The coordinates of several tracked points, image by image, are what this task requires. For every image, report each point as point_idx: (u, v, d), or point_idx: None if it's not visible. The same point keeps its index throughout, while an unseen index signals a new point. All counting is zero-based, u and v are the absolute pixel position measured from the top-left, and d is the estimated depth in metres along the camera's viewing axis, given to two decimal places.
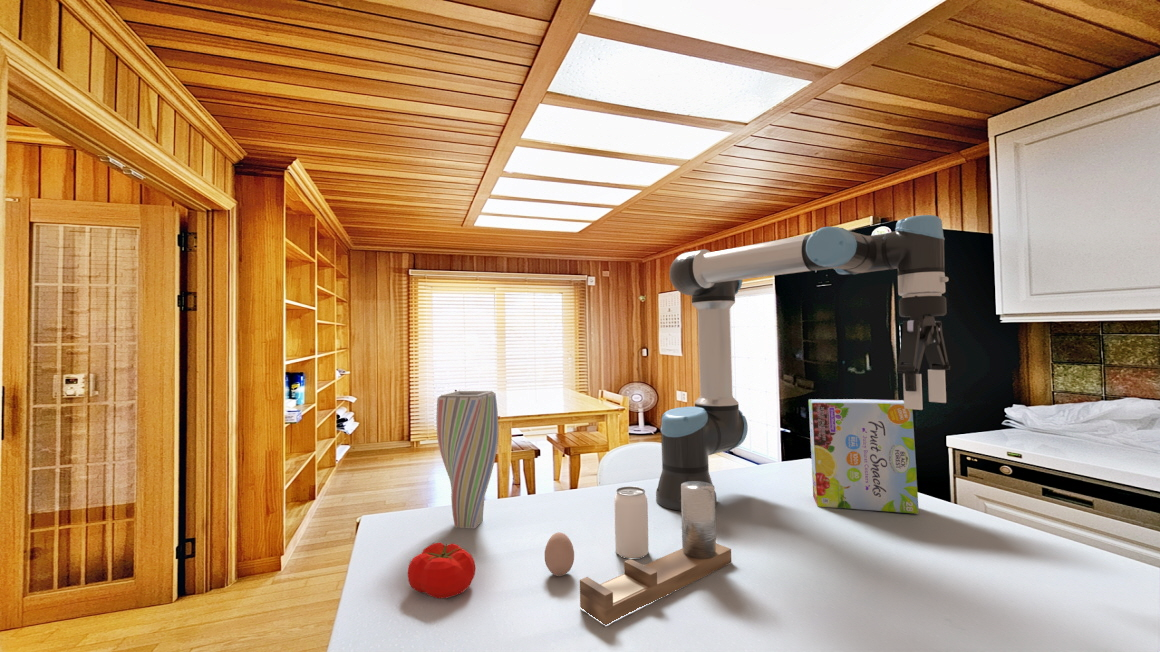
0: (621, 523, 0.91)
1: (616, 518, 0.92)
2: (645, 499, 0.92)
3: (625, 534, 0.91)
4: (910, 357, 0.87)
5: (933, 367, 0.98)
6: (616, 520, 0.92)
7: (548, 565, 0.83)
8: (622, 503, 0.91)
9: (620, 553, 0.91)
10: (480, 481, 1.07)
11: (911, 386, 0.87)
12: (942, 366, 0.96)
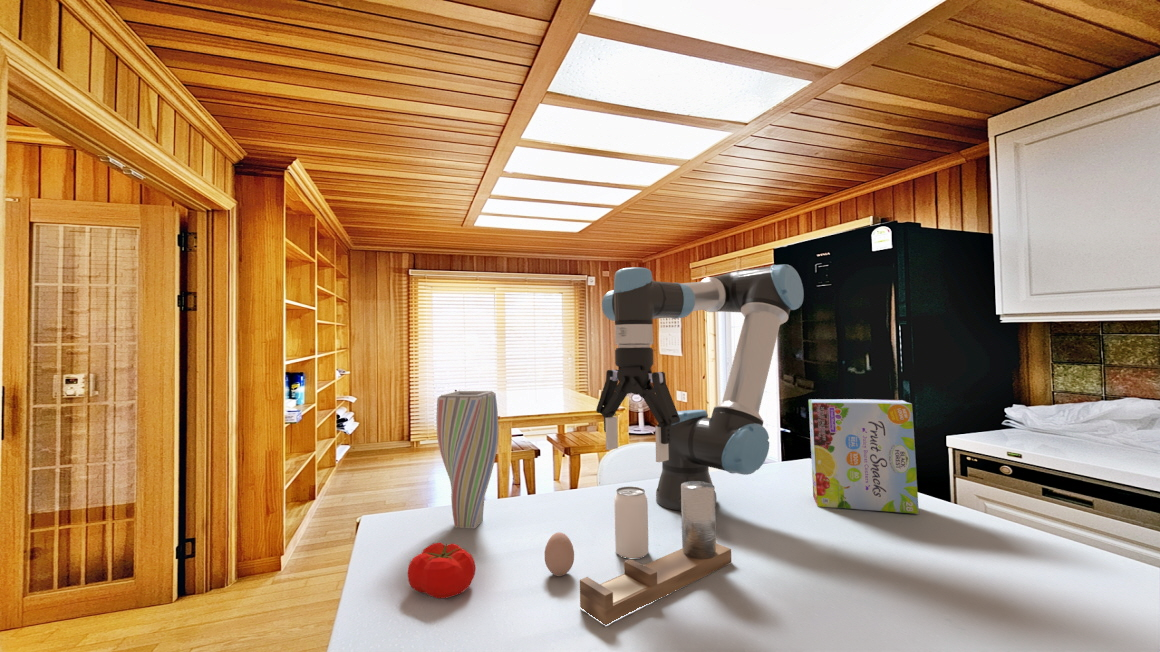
0: (621, 523, 0.91)
1: (616, 518, 0.92)
2: (645, 499, 0.92)
3: (625, 534, 0.91)
4: None
5: None
6: (616, 520, 0.92)
7: (548, 565, 0.83)
8: (622, 503, 0.91)
9: (620, 553, 0.91)
10: (480, 481, 1.07)
11: (605, 427, 1.00)
12: None
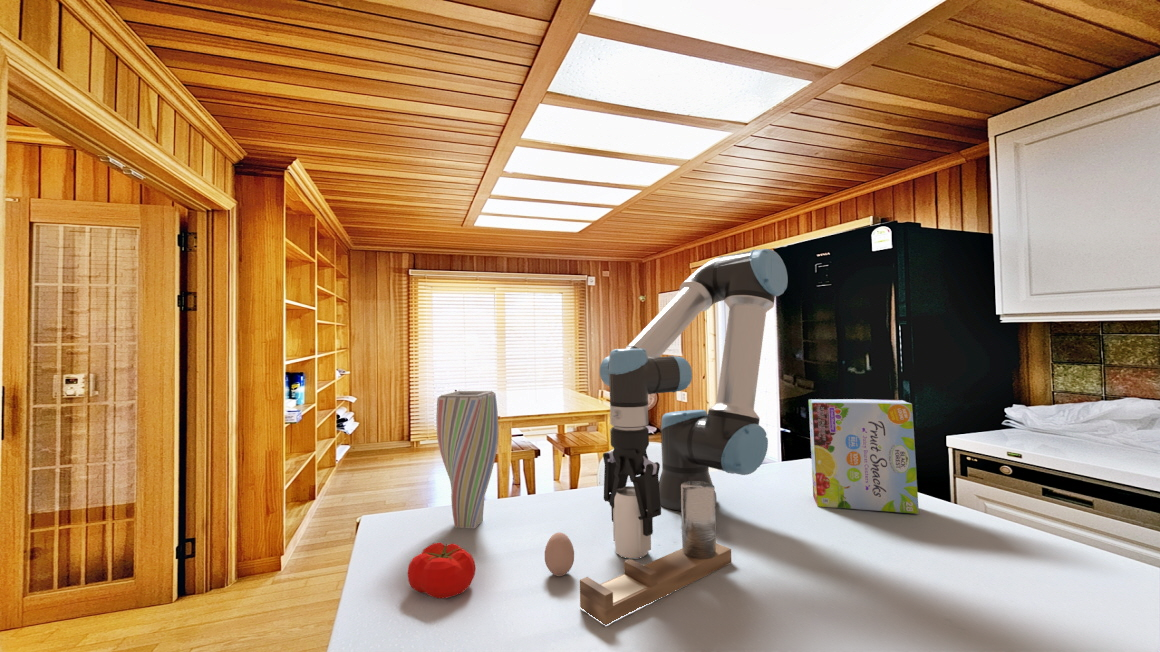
0: (621, 523, 0.91)
1: (616, 518, 0.92)
2: None
3: (625, 534, 0.91)
4: None
5: None
6: (616, 520, 0.92)
7: (548, 565, 0.83)
8: (621, 503, 0.91)
9: (620, 553, 0.91)
10: (480, 481, 1.07)
11: (613, 516, 0.97)
12: None
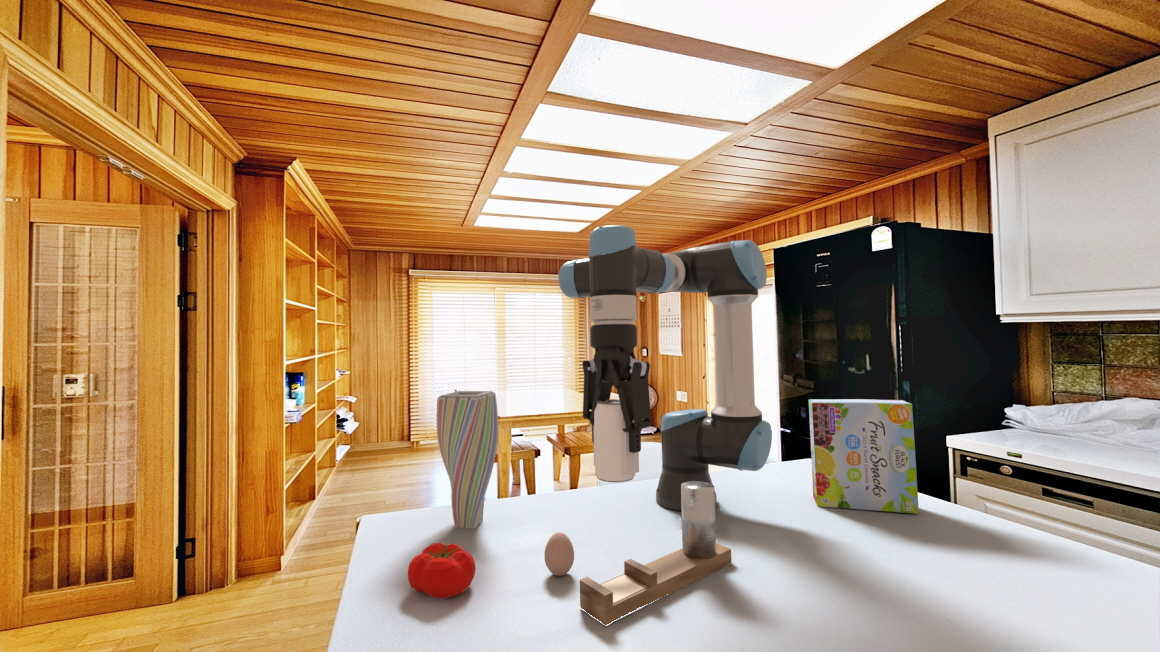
0: (602, 439, 0.74)
1: (596, 434, 0.75)
2: None
3: (606, 451, 0.73)
4: None
5: None
6: (596, 436, 0.75)
7: (548, 565, 0.83)
8: (602, 413, 0.74)
9: (600, 475, 0.74)
10: (480, 481, 1.07)
11: None
12: None
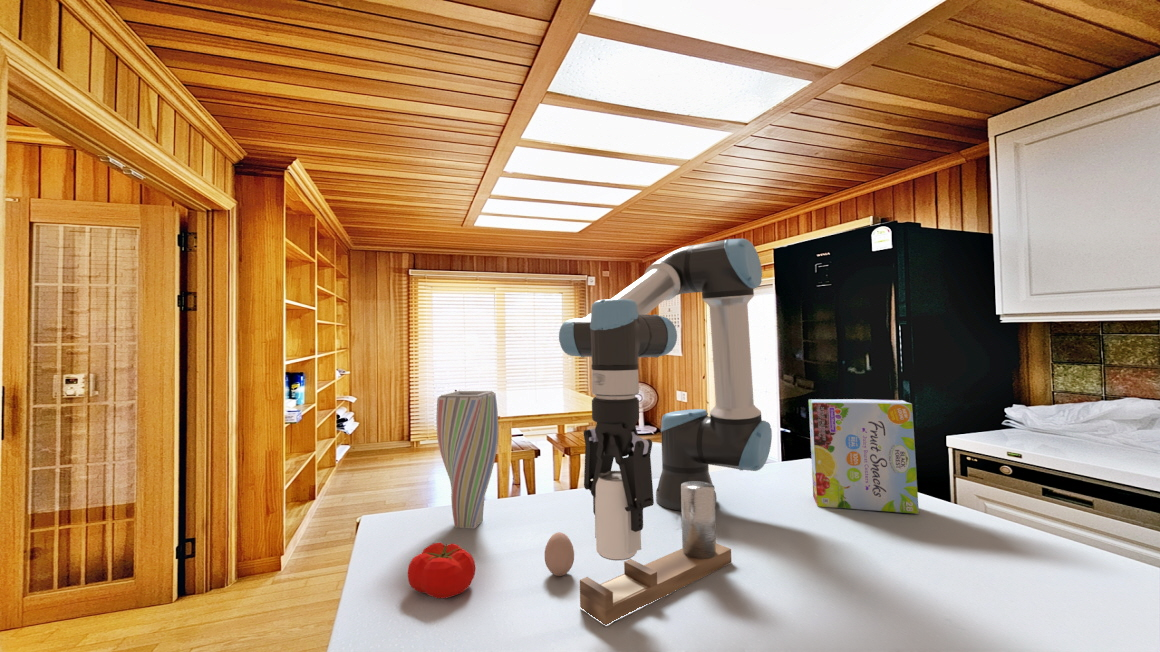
0: (603, 516, 0.73)
1: (597, 510, 0.74)
2: None
3: (608, 529, 0.72)
4: None
5: None
6: (597, 512, 0.74)
7: (548, 565, 0.83)
8: (604, 490, 0.73)
9: (602, 553, 0.73)
10: (480, 481, 1.07)
11: (595, 508, 0.79)
12: None
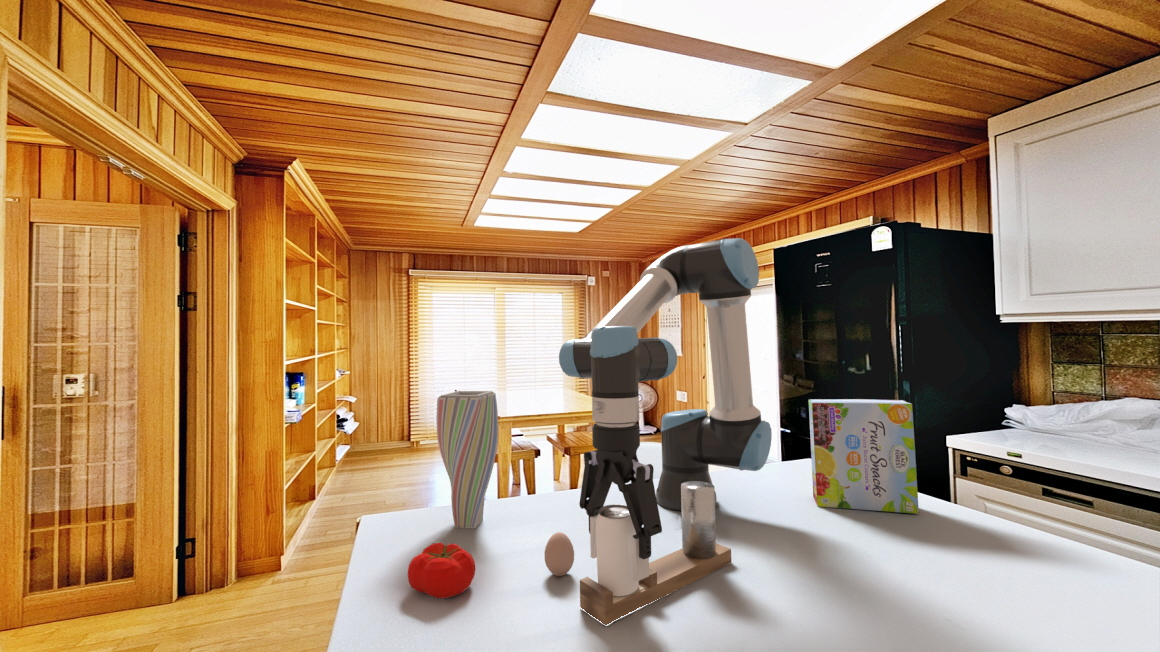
0: (604, 553, 0.73)
1: (598, 546, 0.74)
2: None
3: (609, 566, 0.72)
4: None
5: None
6: (598, 548, 0.74)
7: (548, 565, 0.83)
8: (604, 528, 0.73)
9: None
10: (480, 481, 1.07)
11: None
12: None
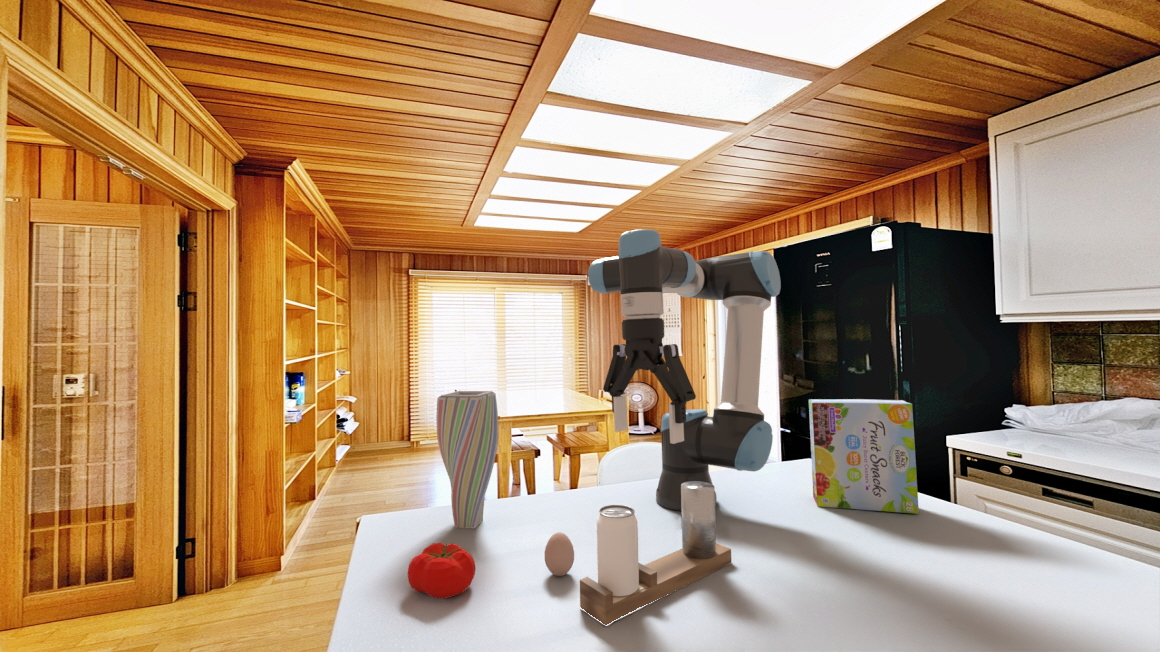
0: (605, 552, 0.73)
1: (598, 546, 0.74)
2: (634, 522, 0.74)
3: (609, 566, 0.72)
4: None
5: None
6: (598, 548, 0.74)
7: (548, 565, 0.83)
8: (605, 527, 0.73)
9: None
10: (480, 481, 1.07)
11: (613, 407, 0.92)
12: None
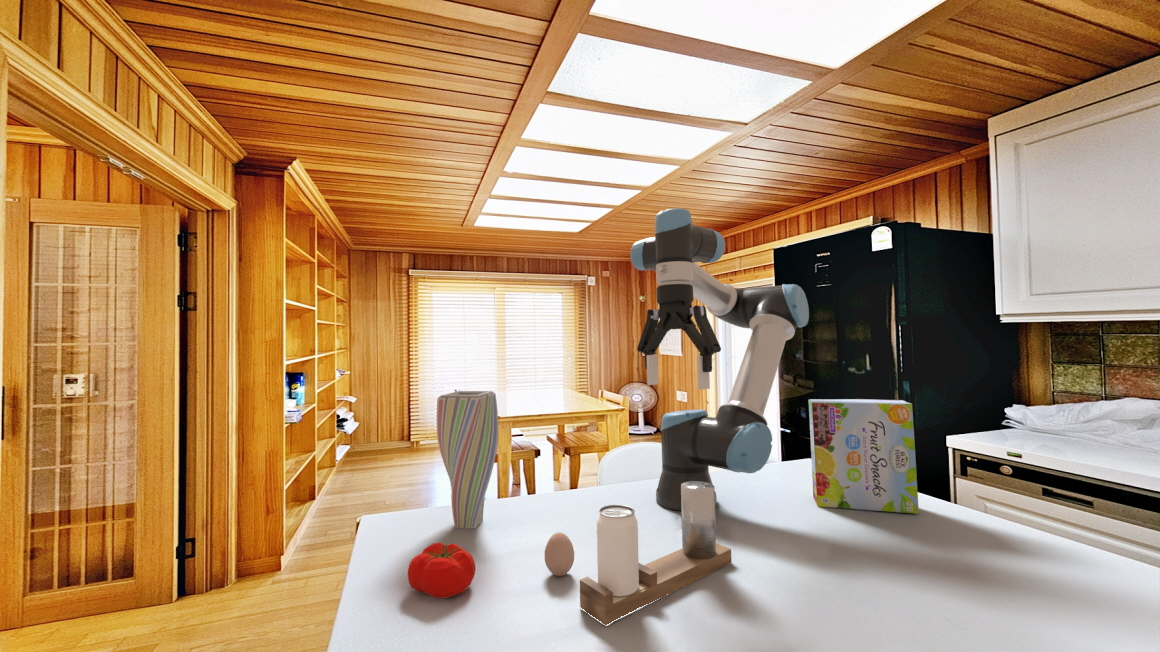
0: (605, 552, 0.73)
1: (598, 546, 0.74)
2: (634, 522, 0.74)
3: (609, 566, 0.72)
4: None
5: None
6: (598, 548, 0.74)
7: (548, 565, 0.83)
8: (605, 527, 0.73)
9: None
10: (480, 481, 1.07)
11: None
12: None
